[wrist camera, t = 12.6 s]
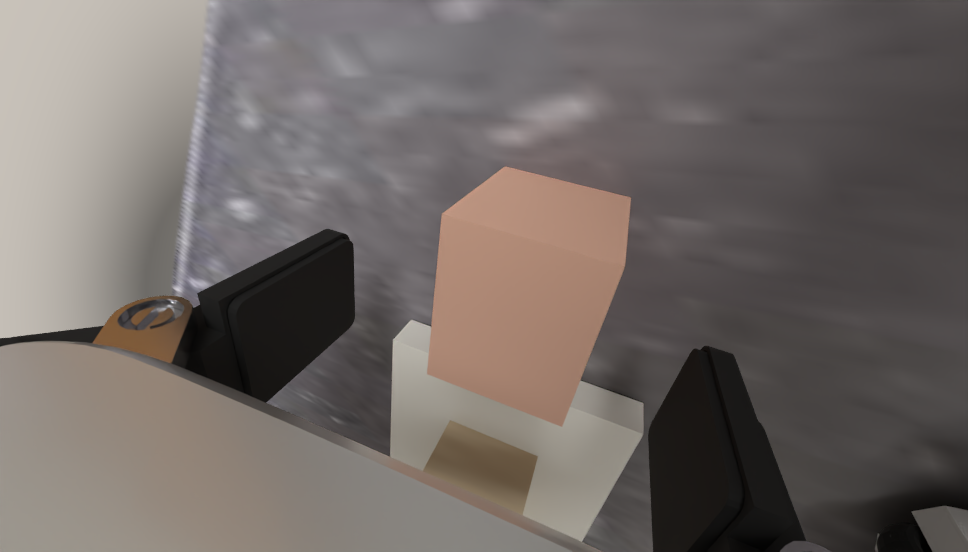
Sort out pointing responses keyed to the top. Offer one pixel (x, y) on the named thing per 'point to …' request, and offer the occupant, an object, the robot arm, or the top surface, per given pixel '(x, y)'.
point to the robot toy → (927, 532)
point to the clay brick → (525, 288)
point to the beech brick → (483, 466)
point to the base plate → (518, 434)
